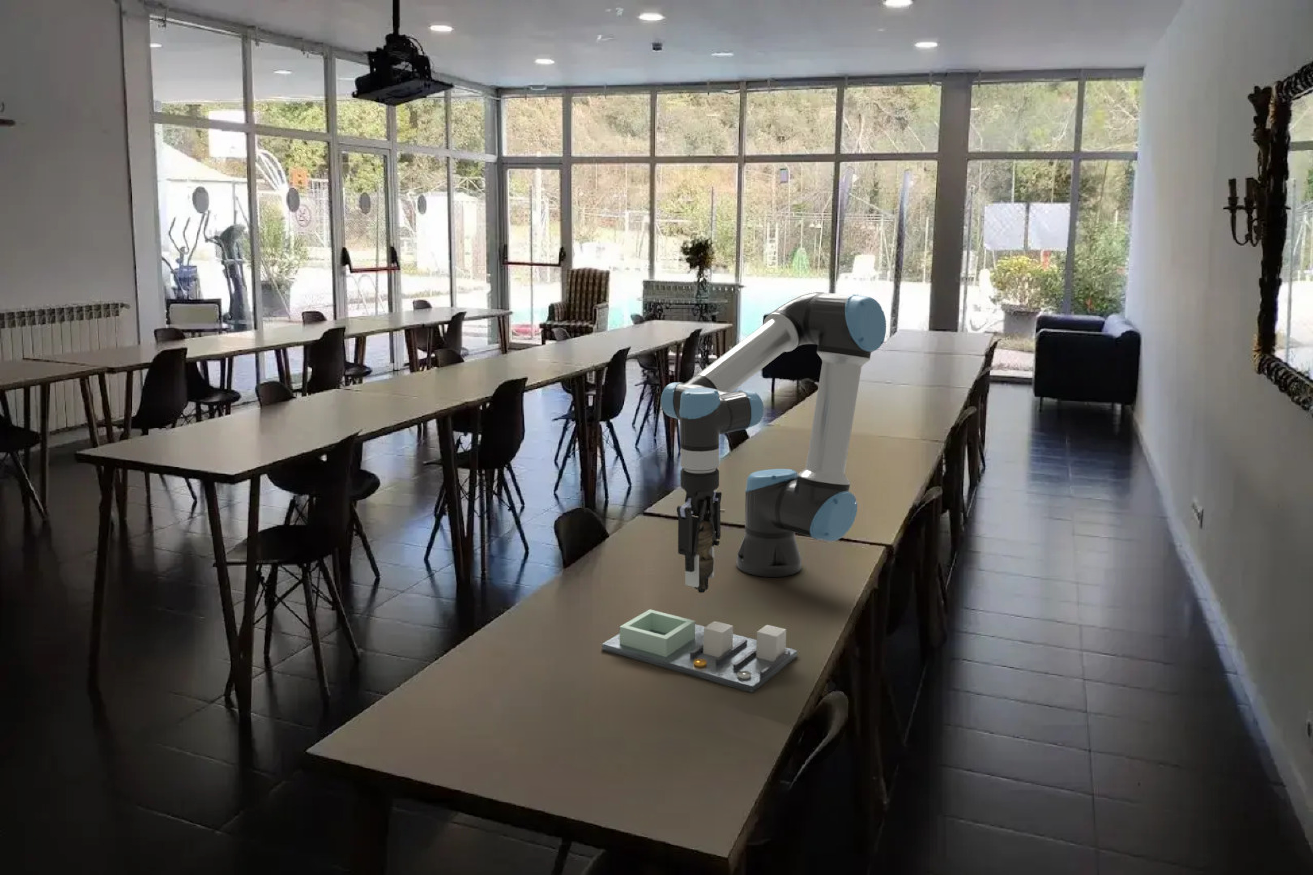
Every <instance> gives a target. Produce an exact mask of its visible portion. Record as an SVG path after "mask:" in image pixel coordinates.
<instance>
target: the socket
mask: <svg viewBox="0 0 1313 875" xmlns="http://www.w3.org/2000/svg"><path fill="white" fill-rule="evenodd" d="M695 624H696V620H693V619H689V618H686V617H682V616H678V615H674V614H670V613H665V612H662V611H657V610H654V609H647V610H646V611H644V612H643V613H641V614H639V615H638V616H635V617H633V618H632V619H630V620H628V621H627V622H625V623H624V624H621V625H620V626H619V634H620V644H622V645H625V646H629V647H632V648H636V649H640V650H643V651H647V652H650V653H654V654H657V655H661V656H665V657H667V656H668V655H670V654H671V653H673V652H674V651H676V650H677V649H679V648H680V647H682V646H684V645H685V644H687V643H688V642H690V641H691V640H693V639H694V638H695ZM651 629H652V630H656V631H660V632H663V633H667V634H666V635H661V634H657V633H653V632H649V631H650V630H651Z"/></svg>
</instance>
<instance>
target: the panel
mask: <svg viewBox="0 0 1313 875" xmlns="http://www.w3.org/2000/svg"><path fill="white" fill-rule="evenodd" d="M704 627H705V626H704V625H700V624H696V623H695V638H694V639H693V640H691V641H690V642H688V643H687V644H685V645H684V646H682V647H680V648H679V649H677V650H676V651H674V652H673V653H671V654H670V655H668V656H667V657H665V656H661V655H657V654H654V653H650V652H647V651H643V650H640V649H636V648H632V647H629V646H625V645H622V644H620V633H618V634H616V635H615V636H613V637H612V638H610V639H608V640H605V641H603V643H602V644H601V650H603V651H606V652H609V653H611V654H612V653H613V654H616V655H619V656H622V657H626V658H630V659H634V660H637V661H641V662H643V663H648V664H651V665H655V666H657V667H661V668H664V669H668V670H672V671H675V672H678V673H682V674H686V675H688V676H692V677H696V678H699V679H702V680H706V681H710V682H714V683H718V684H721V685H724V686H727V687H731V688H734V689H738V690H741V691H745V692H748V693H752V694H753V693H754V692H755V691H757V689H759V688H760V687H761V686H762V685H764V684H765V683H766V682H767V681H768V680H770V679H772V678H773V677H774V676H775V675H777V674H778V672H780V671H781V670H782V669H784V668H785V667H786V666H787V665H788V664H790V663H791V662H792V661H793V660H794V659H796V658H797V657H798V650H797V649H793V648H789V647H786V652H785V653H783V654H782V655H781V656H780V657H778V658H777V659H776V660H775V661H769V660H765V659H761V658H757V657H756V647H757V639H754V638H749V637H746V636H742V635H740V634H735V633H733V648H731V649H730V650H728V651H727V652H726V653H724V654H723V655H721V656H720V657H715V656H712V655H708V654H704V653H703V638H704ZM649 632H653V633H657V634H661V635H666V634H667V633H663V632H660V631H656V630H652V629H651V630H650V631H649Z"/></svg>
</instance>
